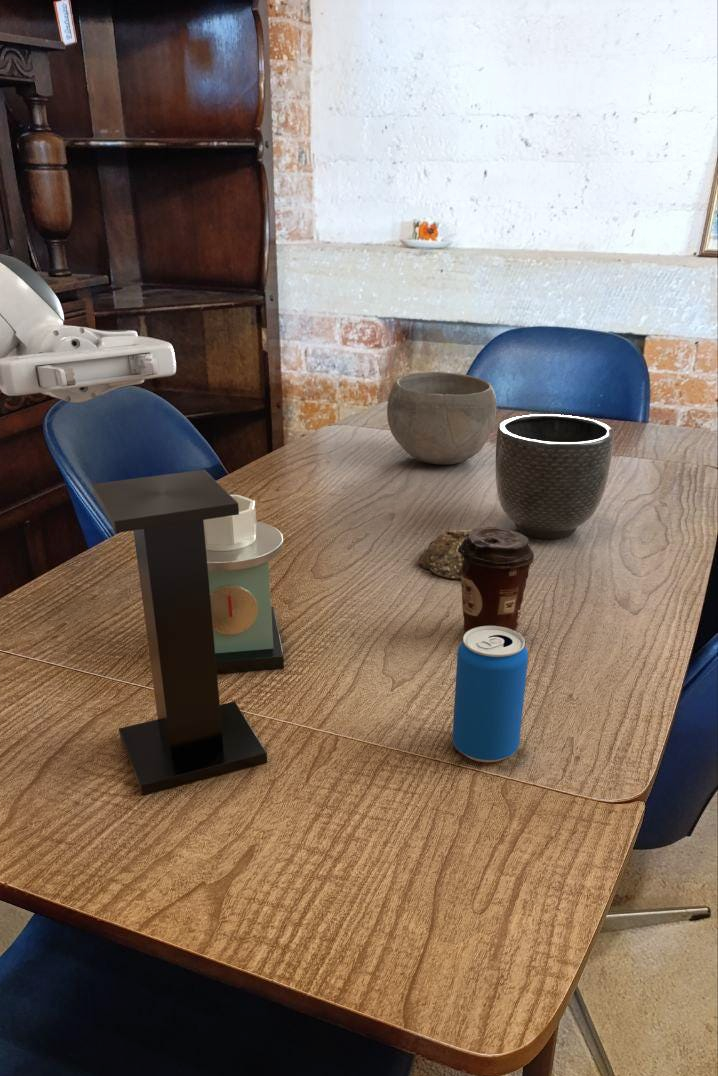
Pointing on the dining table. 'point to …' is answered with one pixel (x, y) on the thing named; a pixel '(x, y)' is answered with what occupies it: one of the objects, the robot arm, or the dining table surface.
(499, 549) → the coffee cup
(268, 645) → the scale
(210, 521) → the handled bowl
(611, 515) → the dining table surface
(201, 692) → the shelf stand
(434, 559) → the brown rock
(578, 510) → the planter
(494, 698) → the beverage can
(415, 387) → the bowl
